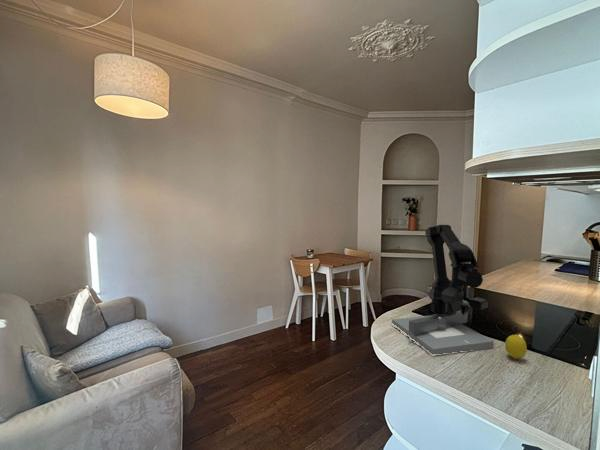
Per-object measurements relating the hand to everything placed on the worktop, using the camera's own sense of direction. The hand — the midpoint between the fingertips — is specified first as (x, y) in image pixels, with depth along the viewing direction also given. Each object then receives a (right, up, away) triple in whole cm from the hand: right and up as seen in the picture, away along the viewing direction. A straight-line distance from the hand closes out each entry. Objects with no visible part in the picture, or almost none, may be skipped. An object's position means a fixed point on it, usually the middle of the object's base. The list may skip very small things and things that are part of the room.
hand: (457, 319), depth 115 cm
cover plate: (-10, -4, -6) cm, 12 cm away
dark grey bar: (-10, -1, -6) cm, 12 cm away
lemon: (+7, -6, -21) cm, 23 cm away
